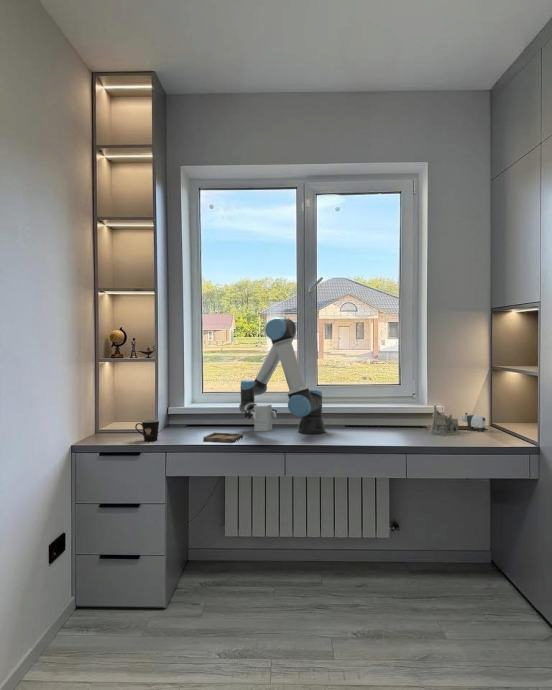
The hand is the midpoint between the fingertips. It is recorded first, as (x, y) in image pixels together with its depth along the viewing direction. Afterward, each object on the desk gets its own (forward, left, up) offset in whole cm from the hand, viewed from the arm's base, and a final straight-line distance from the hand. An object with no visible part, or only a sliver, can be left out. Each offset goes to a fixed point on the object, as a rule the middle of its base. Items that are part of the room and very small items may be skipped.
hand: (265, 415), depth 263 cm
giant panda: (-102, -61, -14) cm, 120 cm away
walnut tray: (+23, -1, -13) cm, 27 cm away
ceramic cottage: (-86, -49, -14) cm, 100 cm away
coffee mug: (+59, +11, -14) cm, 61 cm away
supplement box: (+2, -4, -8) cm, 9 cm away
